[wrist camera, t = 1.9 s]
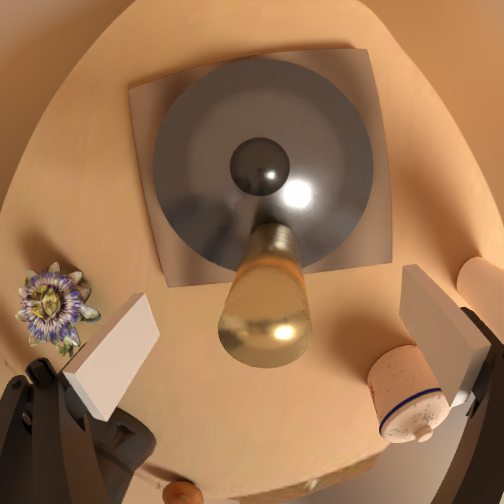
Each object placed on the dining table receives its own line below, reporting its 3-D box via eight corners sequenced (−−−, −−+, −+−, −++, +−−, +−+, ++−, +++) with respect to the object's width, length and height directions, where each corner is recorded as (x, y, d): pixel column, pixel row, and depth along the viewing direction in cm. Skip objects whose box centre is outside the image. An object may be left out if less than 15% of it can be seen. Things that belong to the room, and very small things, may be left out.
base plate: (172, 281, 28) (167, 287, 27) (135, 92, 22) (128, 89, 21) (386, 257, 25) (392, 262, 24) (362, 54, 19) (366, 49, 18)
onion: (211, 491, 48) (204, 522, 39) (175, 486, 49) (166, 515, 40) (200, 478, 45) (192, 512, 36) (161, 471, 46) (150, 503, 37)
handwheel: (182, 278, 26) (114, 371, 13) (146, 91, 20) (41, 55, 8) (374, 256, 23) (444, 345, 11) (349, 57, 18) (409, -24, 5)
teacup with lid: (350, 379, 31) (367, 453, 20) (403, 330, 28) (443, 400, 17) (400, 404, 32) (420, 465, 21) (446, 365, 29) (479, 422, 18)
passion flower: (101, 260, 35) (106, 304, 25) (89, 324, 36) (95, 378, 27) (30, 242, 28) (8, 281, 19) (24, 310, 30) (11, 363, 20)
